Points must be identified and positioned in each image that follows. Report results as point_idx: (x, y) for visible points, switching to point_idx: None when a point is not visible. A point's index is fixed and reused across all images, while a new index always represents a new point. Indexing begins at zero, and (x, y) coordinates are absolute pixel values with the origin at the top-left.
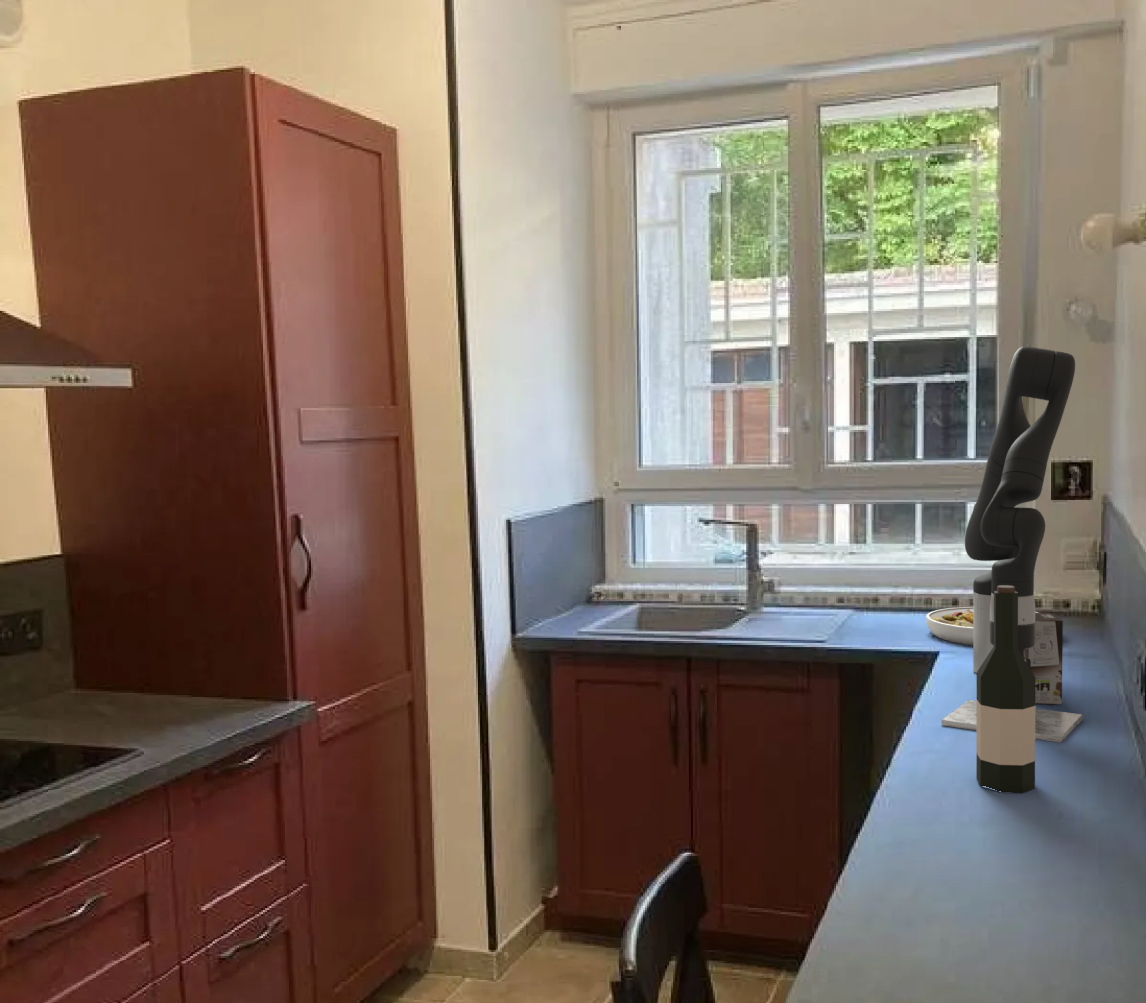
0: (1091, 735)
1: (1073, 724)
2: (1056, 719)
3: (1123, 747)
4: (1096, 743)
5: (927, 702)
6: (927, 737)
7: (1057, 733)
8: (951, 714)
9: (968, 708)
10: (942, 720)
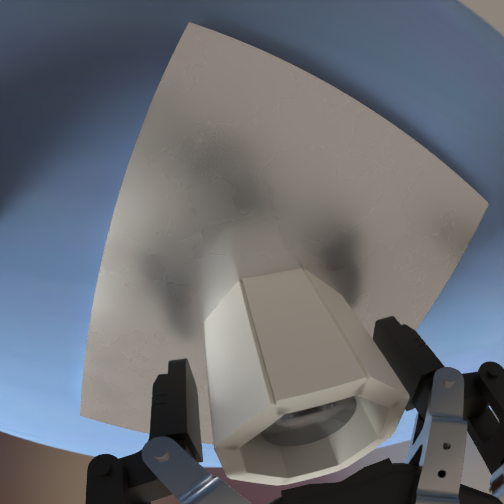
0: (419, 68)
1: (361, 104)
2: (303, 163)
3: (500, 42)
4: (483, 95)
5: None
6: None
7: (467, 205)
8: None
9: None
10: None
